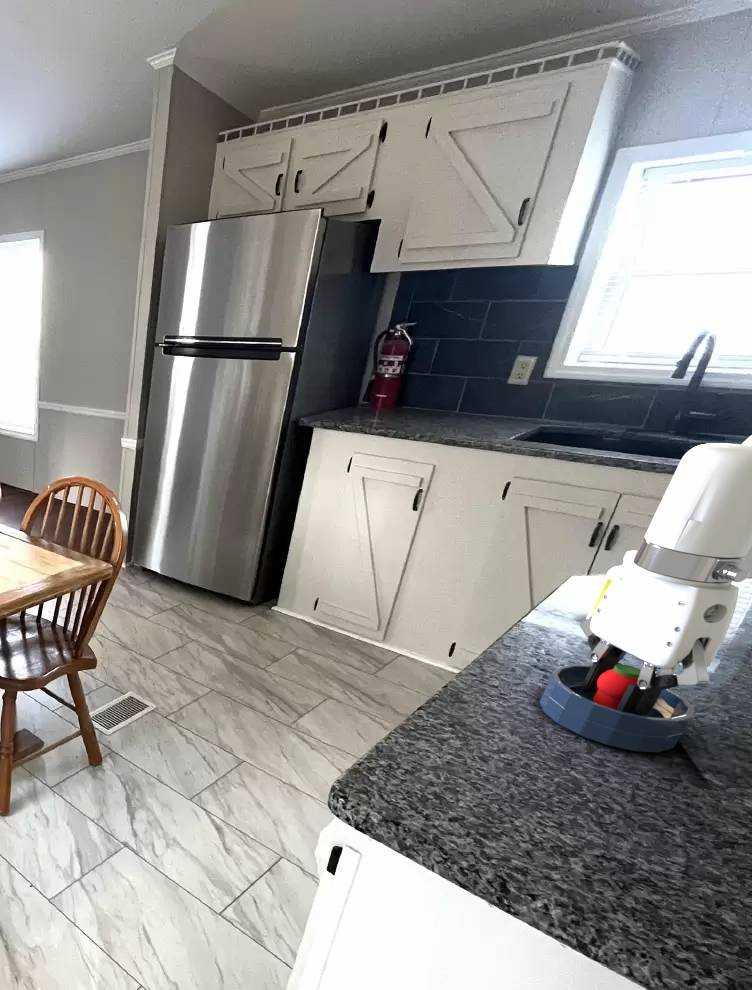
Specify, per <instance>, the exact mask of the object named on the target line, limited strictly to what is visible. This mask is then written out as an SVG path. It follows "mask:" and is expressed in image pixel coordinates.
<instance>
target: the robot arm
mask: <svg viewBox="0 0 752 990" xmlns="http://www.w3.org/2000/svg"><path fill="white" fill-rule="evenodd" d="M653 515H654V516H653V517H652V520H651V522H650V523H649V526H648V528H647V530H646V532H645V534H644V537H643V538H642V541H641V543H640V545H639V546H638V548H637V550H638V551H637V553H636V555H635V557H634V559H633V560H629V561H628V562H627V563H626V564H625V565H624V566H623V568H622V569H621V570H620V571H619V573H618V574H617V575H616V577H615V578H614V579H613V581H612V582H611V584H610V585H609V587H608V588H607V590H606V592H605V593H604V595H603V597H602V598H601V600H600V602H599V604H598V606H597V608H596V610H595V612H594V614H593V616H591V617H589V618H588V619H584V620H582V621H581V622H580V623H579V626H580V629H581V630H582V632H583V634H584V635H585V636H586V638H587V643H588V645H589V648H590V651H591V653H590V654H589V660H590V661H591V662H592V664H591V665H592V666H591V668H590V671H589V673H588V675H587V677H586V679H585V681H584V683H583V685H582V687H581V690H582V691H583V692H585V693H596V692H597V690H598V686H597V681H598V678H599V676H600V675H601V674H602V673H604V672H605V671H608V670H611V669H614V667H615V665H617V664H622V663H621V661H622V659H624V657H625V656H626V655H627V654H629V655H630V656H633V657H634V658H637V659H639V661H640V660H641V661H642V664H641V668H640V670H641V671H640V674H639V678H638V681H637V684H630V685H629V686H628V688H627V690H626V692H625V694H624V696H623V698H622V700H621V702H620V703H619V705H618V707H617V709H616V710H619V711H622V712H626V713H631V714H636V715H646V714H648V713H649V711H650V710H651V709H652V707H653V706H654V704H655V702H656V700H657V698H658V697H659V695H660V693H661V691H662V689H672V688H677V687H682V686H683V687H685V686H687V687H688V686H693V687H694V686H695V687H696V686H707V685H709V683H710V678H709V677H710V676H709V671H708V668H709V667H710V665H711V664H712V662H714V659H715V658H716V656H717V655H718V652H719V651H720V648H721V646H722V644H723V642H724V640H725V638H726V635H727V633H728V631H729V628H730V626H731V623H732V621H733V617H734V614H735V611H736V608H737V607H736V606H737V603H738V597H739V588H740V587H738V586H737V585H734V584H732V582H735V583H741V582H743V581H745V580H747V578H748V577H749V570H746V569H743V568H742V567H741V566H743V563H744V561H745V559H746V557H747V555H748V554H749V552H750V550H751V548H752V434H751V435H750V436H749V437H748V438H746V439H745V440H744V441H743V442H742V443H741V444H740V443H722V442H721V443H717V442H716V443H705V444H699V445H697V446H694V447H692V448H691V449H689V450H688V451H687V452H685V454H684V455H683V456H682V458H681V459H680V461H679V463H678V465H677V467H676V470H675V471H674V474H673V475H672V477H671V479H670V483H669V484H668V486H667V487H666V490H665V492H664V494H663V496H662V499H661V501H660V503H659V505H658V507H657V509H656V511H655V513H654V514H653ZM680 664H681V665H682V672H681V673H678V669H679V665H680ZM658 670H659V673H658ZM657 673H658V676H657Z"/></svg>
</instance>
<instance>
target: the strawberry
mask: <svg viewBox="0 0 752 990" xmlns="http://www.w3.org/2000/svg"><path fill="white" fill-rule="evenodd" d="M640 671H641V668H637V667H635V666H632V665H628V664H623V663H621V664H617V665H615V667H614V669H611V670H608V671H605V672H604V673H602V674H601V675H600V676H599V678H598V681H597V686H598V690H597V692H596V694H595V696H594V699H593V700H594V702H595V703H597V704H600V705H603V706H606V707H609V708H612V709H615V710H616V709H617V707H618V705H619V703H620V702H621V700H622V698H623V696H624V694H625V692H626V690H627V688H628V686H629V685H630V684H637V681H638V678H639V674H640Z"/></svg>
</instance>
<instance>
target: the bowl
mask: <svg viewBox="0 0 752 990" xmlns="http://www.w3.org/2000/svg"><path fill="white" fill-rule="evenodd" d="M591 666H592V664H576V663H575V664H574V663H572V664H566V665H560V666H557V667H556V668H555V669H554V671H553V672H552V673H551V676H550V678H549V680H548V682H547V684H546V686H545V688H544V691H543V693H542V695H541V698H540V700H539V705H540V706H541V709H542V711H543V713H544V714H545V715H547V716H548V717H549V718H550V719H551V720H553V721H554V722H555V723H556V724H558V725H559V726H562V727H563V728H566V729H568V730H569V731H571V732H573V733H575V734H577V735H580V736H582V737H584V738H586V739H589V740H591V741H594V742H597V743H601V744H604V745H607V746H610V747H615V748H619V749H624V750H628V751H632V752H645V753H662V752H665V751H669V750H670V751H671V750H674V748H675V747H676V745H677V743H678V742H679V740H680V739H681V736H682V735H683V733H684V731H685V730H686V728H687V726H688V725H689V723H690V721H691V720H692V718H693V715H694V713H695V708H694V707H693V705H692V704H691V703H690V701H689V700H688V699H687V698H686V697H684V696H682V695H681V694H679V693H677V692H676V691H675V690H673V689H672V688H670V689H662V691H661V693H660V695H659V697H658V698H657V700H656V702H655V704H654V706H653V707H652V709H651V710H650V711H649V713H648V714H646V715H636V714H631V713H626V712H622V711H619V710H615V709H612V708H609V707H606V706H603V705H600V704H597V703H595V702H594V700H593V699H594V696H595V694H596V693H585V692H583V691H582V690H581V687H582V685H583V683H584V681H585V679H586V677H587V675H588V673H589V671H590V668H591Z"/></svg>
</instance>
